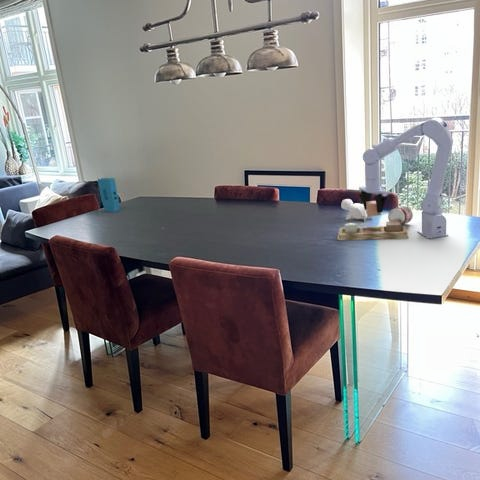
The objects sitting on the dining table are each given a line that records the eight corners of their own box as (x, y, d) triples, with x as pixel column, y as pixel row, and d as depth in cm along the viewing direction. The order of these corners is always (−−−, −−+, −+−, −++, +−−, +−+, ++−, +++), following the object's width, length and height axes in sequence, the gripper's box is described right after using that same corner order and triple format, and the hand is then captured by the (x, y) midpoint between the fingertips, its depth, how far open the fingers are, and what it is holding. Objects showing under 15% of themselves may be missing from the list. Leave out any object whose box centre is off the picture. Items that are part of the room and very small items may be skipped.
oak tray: (406, 230, 191) (406, 225, 190) (408, 238, 182) (408, 232, 181) (338, 232, 198) (338, 227, 197) (337, 240, 189) (337, 234, 188)
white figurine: (371, 223, 216) (345, 209, 225) (376, 207, 212) (350, 193, 220) (360, 228, 211) (334, 213, 219) (366, 212, 206) (339, 197, 215)
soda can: (398, 225, 202) (390, 227, 192) (393, 209, 202) (385, 210, 193) (415, 220, 198) (408, 223, 188) (410, 204, 198) (403, 205, 188)
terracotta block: (378, 212, 196) (378, 200, 195) (380, 215, 192) (380, 203, 190) (366, 213, 197) (366, 201, 196) (368, 216, 192) (368, 204, 191)
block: (103, 211, 294) (96, 179, 289) (109, 209, 298) (103, 178, 292) (114, 212, 287) (108, 180, 281) (121, 210, 291) (115, 178, 285)
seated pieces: (399, 230, 189) (399, 221, 188) (400, 234, 185) (400, 224, 183) (345, 232, 195) (344, 223, 194) (344, 236, 190) (344, 226, 189)
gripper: (393, 178, 185) (393, 211, 189) (367, 174, 198) (368, 206, 202) (379, 181, 182) (380, 215, 186) (354, 177, 195) (355, 209, 199)
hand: (373, 210), depth 194 cm, fingers closed on terracotta block, 7 cm apart
